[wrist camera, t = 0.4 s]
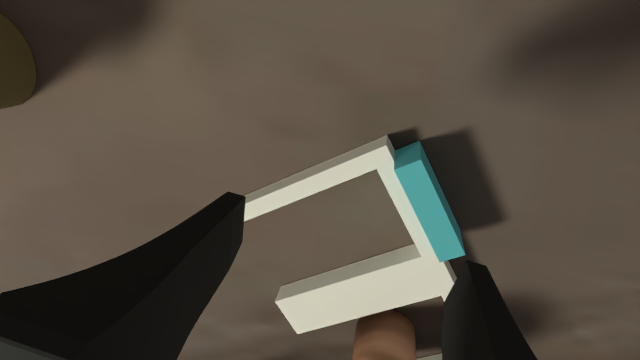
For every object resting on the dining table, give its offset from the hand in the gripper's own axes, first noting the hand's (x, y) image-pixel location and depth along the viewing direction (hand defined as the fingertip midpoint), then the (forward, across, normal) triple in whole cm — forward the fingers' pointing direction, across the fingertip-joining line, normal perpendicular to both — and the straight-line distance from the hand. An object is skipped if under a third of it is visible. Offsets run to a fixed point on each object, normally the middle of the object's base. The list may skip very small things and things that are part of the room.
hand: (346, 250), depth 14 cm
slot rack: (+9, -2, +11) cm, 14 cm away
